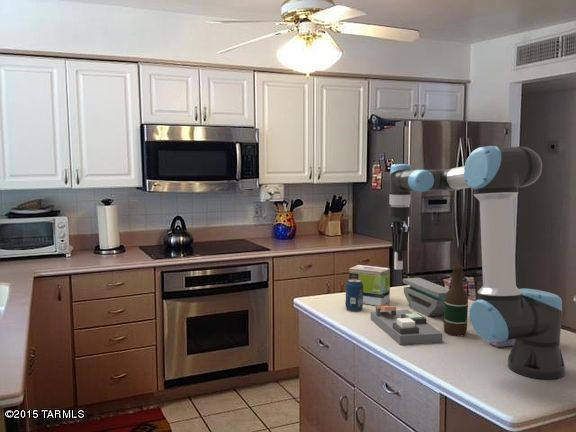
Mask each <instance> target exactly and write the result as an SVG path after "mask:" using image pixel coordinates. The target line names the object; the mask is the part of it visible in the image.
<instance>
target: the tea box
mask: <svg viewBox="0 0 576 432" xmlns="http://www.w3.org/2000/svg"><path fill="white" fill-rule="evenodd" d="M348 279H360V280H362V283H363V305H371V306H376V305H387V304H388V303H389V302H390V296H391V295H390V294H391V280H390V279H391V268H390V267H381V266H373V265H364V264H357V265H355V266H352V267H349V268H348Z"/></svg>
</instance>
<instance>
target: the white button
mask: <svg viewBox="0 0 576 432" xmlns="http://www.w3.org/2000/svg"><path fill="white" fill-rule="evenodd" d="M397 325H398V326H400V327H401V328H415V321H413V320H412V319H410V318H397Z"/></svg>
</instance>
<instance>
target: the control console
mask: <svg viewBox="0 0 576 432" xmlns="http://www.w3.org/2000/svg"><path fill="white" fill-rule="evenodd" d="M412 313H413V312H412V311H410V309H400V310H399V309H396V311H380V308H379V307H376V306H375V311H370V320H371V321H372V322H373V323H374V324H375V325H376V326H378V327H379V329H381V330H382V331H384V333H386V334H387V335H388V336H389V337H390V338H391V339H393V340H394V341H395V342H396V343H397V344H398V345H400V346H404V345H419V344H435V343H443V335H444V334H443V332H441V331H440V330H438V329H437V328H435V327H434V326H433V325H431V324H430V323H428V322H427V318H426V317H425V316H424V315H423V314H421V313H419V312H416V313H417V314H419V315H420V316H422V317H423V318H420V319H412V320H413V321H415V328H401V327H400V326H398V325H397V318H408V317H406V316H405V314H412Z"/></svg>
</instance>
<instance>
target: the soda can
mask: <svg viewBox="0 0 576 432" xmlns="http://www.w3.org/2000/svg"><path fill="white" fill-rule="evenodd" d="M344 304H345V308H346V310H347V311H349V312H360V311H361V310H362V309H363V307H364V304H363V283H362V280H360V279H349V278H348V279H347V281H346V283H345V303H344Z"/></svg>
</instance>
